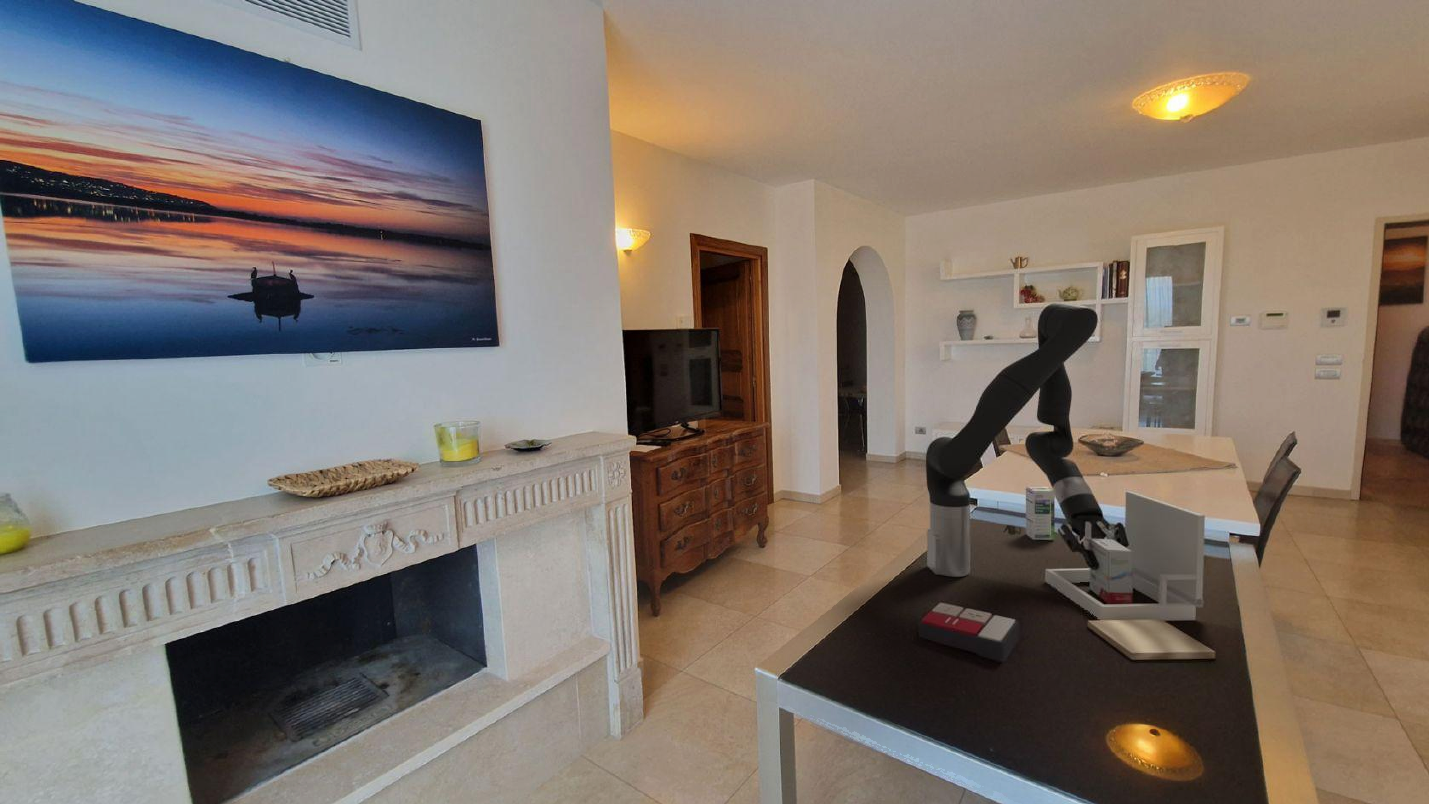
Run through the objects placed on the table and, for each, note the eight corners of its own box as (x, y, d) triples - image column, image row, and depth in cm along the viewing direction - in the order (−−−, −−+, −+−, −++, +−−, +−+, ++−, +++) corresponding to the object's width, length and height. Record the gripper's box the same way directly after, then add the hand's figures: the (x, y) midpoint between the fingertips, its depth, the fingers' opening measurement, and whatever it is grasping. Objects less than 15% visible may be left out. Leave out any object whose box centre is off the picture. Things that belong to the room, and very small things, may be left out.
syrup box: (1033, 540, 158) (1033, 490, 157) (1025, 533, 164) (1025, 485, 163) (1054, 540, 157) (1055, 490, 156) (1046, 534, 163) (1046, 485, 162)
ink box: (1134, 606, 116) (1134, 551, 115) (1107, 605, 117) (1107, 550, 116) (1113, 589, 124) (1113, 538, 123) (1088, 588, 125) (1088, 537, 124)
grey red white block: (938, 600, 114) (1019, 616, 104) (939, 620, 114) (1020, 639, 104) (917, 619, 106) (1002, 639, 96) (918, 641, 106) (1003, 664, 96)
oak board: (1131, 659, 96) (1131, 652, 96) (1087, 626, 108) (1087, 620, 108) (1215, 658, 95) (1215, 651, 95) (1161, 625, 107) (1161, 619, 107)
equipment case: (1101, 621, 110) (1103, 517, 108) (1045, 581, 130) (1046, 493, 128) (1202, 619, 109) (1205, 515, 107) (1130, 580, 129) (1132, 491, 127)
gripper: (1052, 493, 129) (1084, 561, 118) (1115, 491, 128) (1153, 560, 117) (1039, 509, 135) (1068, 576, 124) (1099, 507, 134) (1134, 574, 123)
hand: (1109, 567), depth 121 cm, fingers closed on ink box, 5 cm apart
